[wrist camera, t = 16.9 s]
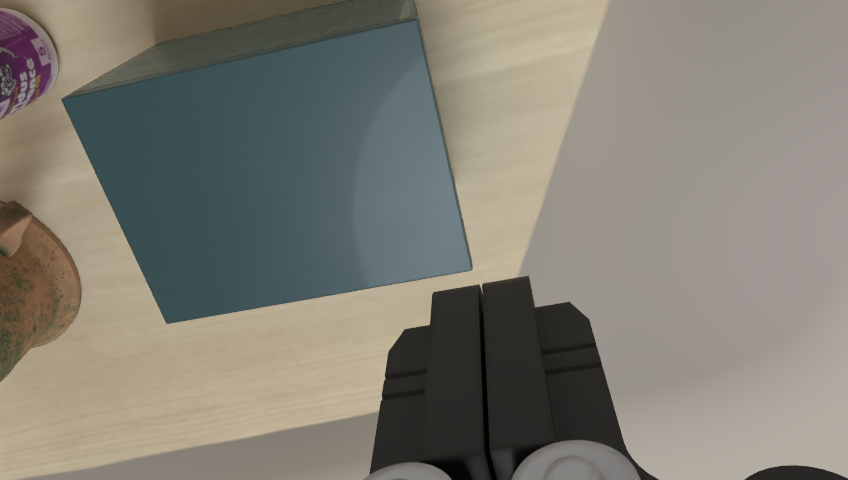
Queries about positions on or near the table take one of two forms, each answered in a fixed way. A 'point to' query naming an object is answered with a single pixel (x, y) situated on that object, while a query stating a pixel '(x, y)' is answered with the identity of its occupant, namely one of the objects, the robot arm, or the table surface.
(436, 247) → the lid
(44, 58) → the pill bottle
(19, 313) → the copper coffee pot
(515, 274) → the table surface
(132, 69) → the teal storage bin
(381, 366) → the table surface
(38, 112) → the table surface
